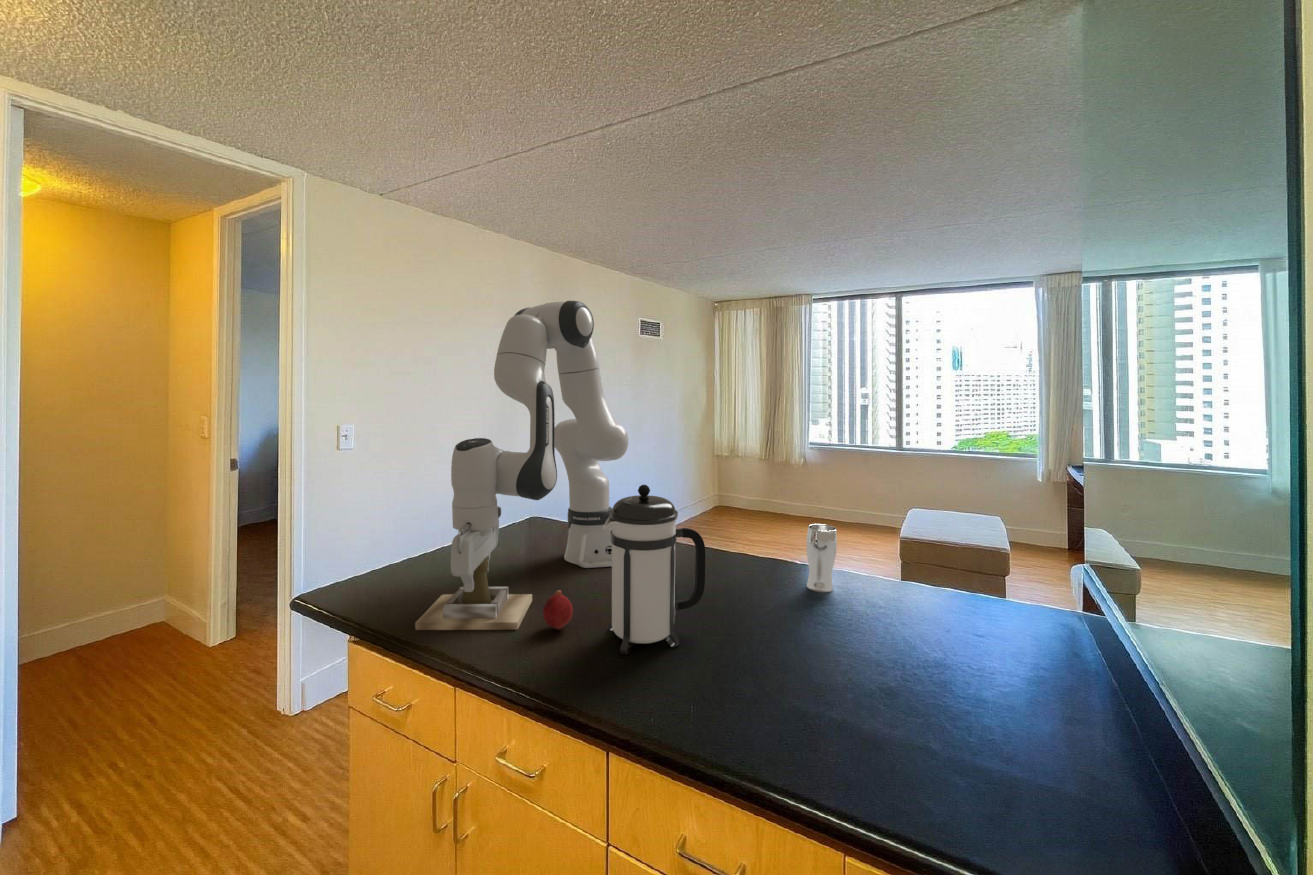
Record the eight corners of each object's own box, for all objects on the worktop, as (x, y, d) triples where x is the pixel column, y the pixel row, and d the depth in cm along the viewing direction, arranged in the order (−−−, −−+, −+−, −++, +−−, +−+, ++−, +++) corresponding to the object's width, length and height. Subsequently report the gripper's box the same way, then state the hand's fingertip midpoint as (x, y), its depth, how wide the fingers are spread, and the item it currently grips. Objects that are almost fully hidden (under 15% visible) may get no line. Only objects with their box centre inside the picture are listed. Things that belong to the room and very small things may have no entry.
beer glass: (803, 590, 124) (805, 529, 123) (806, 580, 131) (808, 522, 129) (833, 595, 122) (836, 532, 120) (835, 584, 128) (838, 525, 127)
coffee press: (660, 668, 89) (662, 497, 86) (588, 643, 98) (587, 486, 95) (705, 629, 104) (708, 481, 101) (639, 610, 112) (640, 473, 109)
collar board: (532, 600, 117) (531, 583, 117) (517, 629, 103) (517, 610, 103) (442, 600, 116) (441, 583, 116) (415, 630, 102) (414, 610, 102)
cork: (496, 602, 112) (495, 552, 111) (483, 614, 106) (482, 562, 105) (469, 600, 113) (468, 551, 112) (455, 612, 107) (454, 560, 106)
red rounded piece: (547, 638, 99) (547, 598, 99) (539, 626, 104) (539, 588, 104) (576, 632, 102) (576, 593, 101) (567, 620, 107) (567, 583, 106)
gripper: (474, 531, 97) (476, 602, 99) (503, 506, 118) (504, 565, 119) (440, 531, 97) (443, 602, 98) (475, 506, 117) (476, 565, 119)
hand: (476, 581), depth 109 cm, fingers open, 8 cm apart
